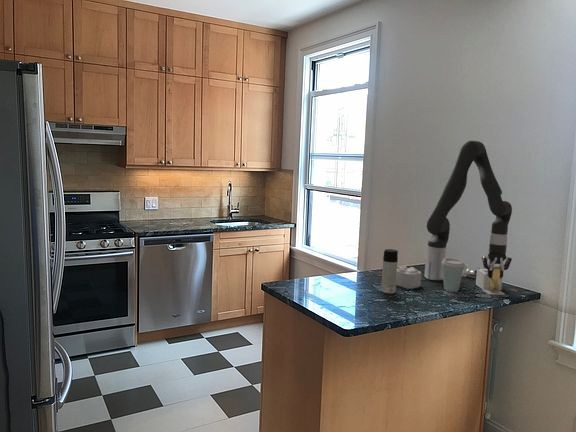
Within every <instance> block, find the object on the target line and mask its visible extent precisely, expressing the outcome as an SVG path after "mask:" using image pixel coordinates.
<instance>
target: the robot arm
mask: <svg viewBox="0 0 576 432" xmlns="http://www.w3.org/2000/svg"><path fill="white" fill-rule="evenodd" d="M459 150H460V151H459V153H458V156H457V159H456V162H455V164H454V167H453V169H452V171H451V174H450V176H449V178H448V180H447V181H446V184H445V186H444V188H443V190H442V193H441V194H440V197H439V199H438V201H437V204H436V206H435V207H434V210H433V211H432V213H431V215H430V217H429V218H428V219H427V222H426V230H427V232H428V233H429V234H432V236H431V237H430V238H429V240H428V242H427V253H426V258H425V262H424V263H425V264H424V276H423V277H425V279H427V280H432V281H443V269H442V261H443V259H444V258H446V254H447V244H448V242H449V238H450V230H451V228H450V227H451V224H450V219H448V214H449V213H450V211H451V210H452V209H453V208H454V207H455V205H457V203H458V202H459V201H460V200H461V198H462V195H463V193H464V192H465V190H466V187H467V182H468V173H469V169H470V168H471V165H472V163H473V162H474V164H475V165H476V167H477V169H478V173H479V179H480V185H481V187H482V189H483V191H484V193H485V195H486V197H487V202H488V203H487V204H488V207H489V210H490V212H491V213H492V214H493V216H495V220H493V222H492V223H491V228H490V229H491V230H490V232H491V233H490V237H489V245H488V254H487V255H485V256H481V261H482V265H483V268H484V269H485V270H488V273H487V276H488V277H489V278H492V268H493V266H496V265H498V267H501V272H500V278H502V279H503V278H504V272H505V271H507V270H508V269H509V267H510V266H511V262H512V260H513V259H512V258H511V257H509V256H507V255H506V254H507V247H508V246H507V245H508V230H509V223H510V220H511V216H512V214H513V207H512V204H511V202H509V201H506V200H503V199H502V194H503V191H502V189H501V186H500V184H499V182H498V180H497V177H496V176H495V173H494V171H493V168H492V166H491V162H490V160H489V156H488V152H487V149H486V146H485V145H484V143H483V142H481V141H479V140H467V141H465V142H464V143H463V144H462V145H461V147H460V149H459ZM488 260H489V261H488ZM504 261H505V262H504Z"/></svg>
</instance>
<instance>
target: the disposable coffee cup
mask: <svg viewBox="0 0 576 432" xmlns="http://www.w3.org/2000/svg"><path fill="white" fill-rule="evenodd" d="M465 264H466V263H464V261H463V260H460V259H457V258H453V257H445V258H444V259H443V261H442V269H443V280H442V282H443V288H444V290H445V292H446V291H447V292H451V293H454V292H455V293H456V292H458V291H459V290H460V286H461V281H462V273H463V269H464V266H465Z"/></svg>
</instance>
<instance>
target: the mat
mask: <svg viewBox="0 0 576 432" xmlns="http://www.w3.org/2000/svg"><path fill="white" fill-rule="evenodd" d="M482 292H484V293H486V294H487V295H491V296H492V295H494V296H495V295H497V296H506V293H504V292H503V291H502V290H499V291H493V290H483V289H482Z"/></svg>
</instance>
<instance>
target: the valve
mask: <svg viewBox="0 0 576 432" xmlns="http://www.w3.org/2000/svg"><path fill="white" fill-rule="evenodd" d="M464 264H465V266H464V269H463V273H462V277H463V278H464V277H465V278H466V277H467V276H468V275H473V276H474V278H473V279H474V280H476V276H477V269H481V267H480V268H478V267H477V269H475V270H471V269H470V268H468V264H467V263H464Z"/></svg>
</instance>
